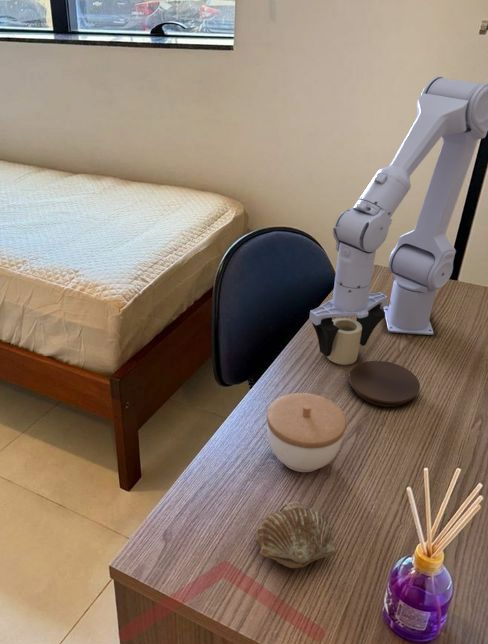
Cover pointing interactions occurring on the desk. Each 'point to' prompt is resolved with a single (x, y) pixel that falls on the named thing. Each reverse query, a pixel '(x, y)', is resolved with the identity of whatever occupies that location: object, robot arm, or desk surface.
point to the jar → (346, 341)
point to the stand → (383, 383)
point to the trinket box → (305, 430)
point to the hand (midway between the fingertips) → (342, 348)
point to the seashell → (295, 536)
